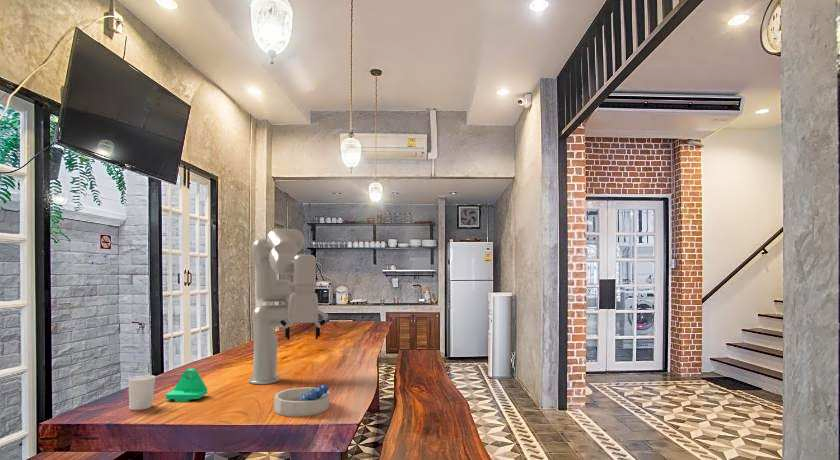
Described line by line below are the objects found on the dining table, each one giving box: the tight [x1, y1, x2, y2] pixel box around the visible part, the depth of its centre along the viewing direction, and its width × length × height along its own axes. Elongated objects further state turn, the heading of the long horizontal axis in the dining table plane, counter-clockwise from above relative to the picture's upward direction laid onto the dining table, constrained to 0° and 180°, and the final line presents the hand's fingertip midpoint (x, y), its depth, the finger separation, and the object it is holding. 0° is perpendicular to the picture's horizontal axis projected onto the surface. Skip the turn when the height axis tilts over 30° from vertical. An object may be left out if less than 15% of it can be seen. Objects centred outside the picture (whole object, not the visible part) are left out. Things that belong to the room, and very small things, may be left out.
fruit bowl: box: [273, 386, 331, 418], centre depth 164 cm, size 18×18×5 cm
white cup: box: [128, 374, 156, 411], centre depth 164 cm, size 8×8×10 cm
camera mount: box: [165, 367, 208, 403], centre depth 175 cm, size 12×8×10 cm, turn 91°
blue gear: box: [299, 384, 329, 401], centre depth 163 cm, size 12×7×12 cm
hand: (302, 339), depth 167 cm, fingers open, 9 cm apart
